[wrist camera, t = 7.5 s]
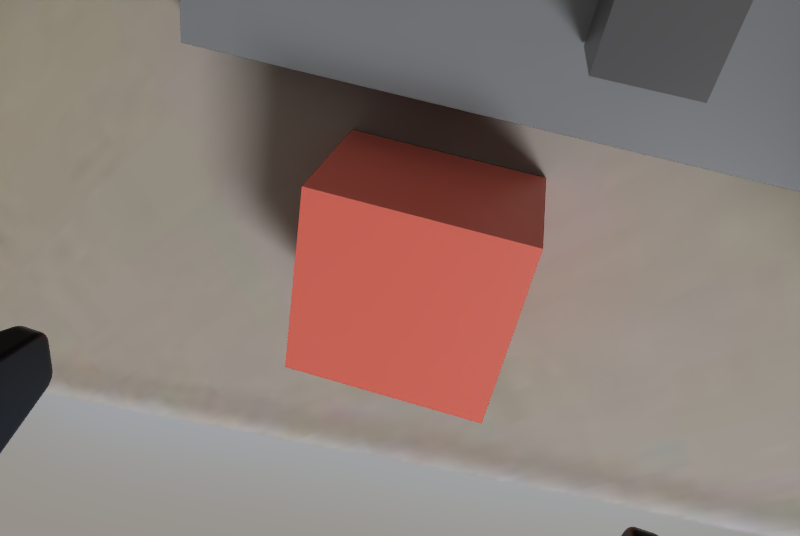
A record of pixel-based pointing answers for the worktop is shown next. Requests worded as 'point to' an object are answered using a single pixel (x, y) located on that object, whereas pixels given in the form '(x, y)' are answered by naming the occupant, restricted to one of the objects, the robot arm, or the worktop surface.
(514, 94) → the panel
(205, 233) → the worktop surface
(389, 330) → the cap
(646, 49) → the dark grey small block
